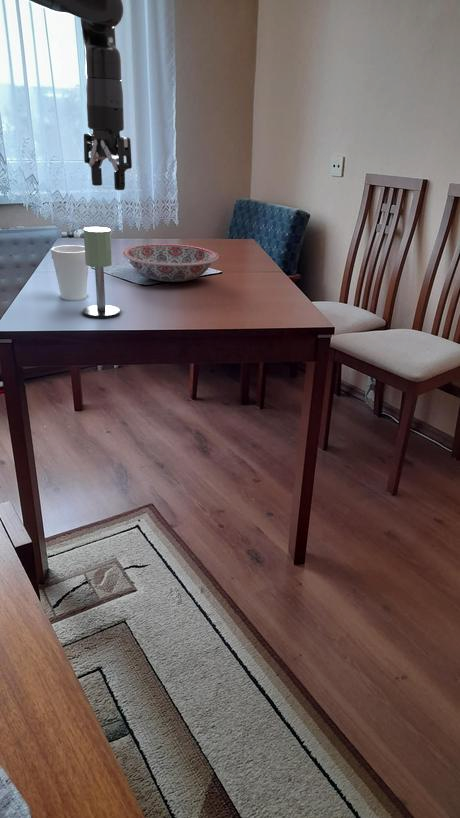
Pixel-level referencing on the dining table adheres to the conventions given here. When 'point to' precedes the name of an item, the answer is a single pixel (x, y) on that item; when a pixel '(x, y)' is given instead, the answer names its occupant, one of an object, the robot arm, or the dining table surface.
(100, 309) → the towel holder
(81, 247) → the foam cup
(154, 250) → the ceramic bowl
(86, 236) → the green cup
